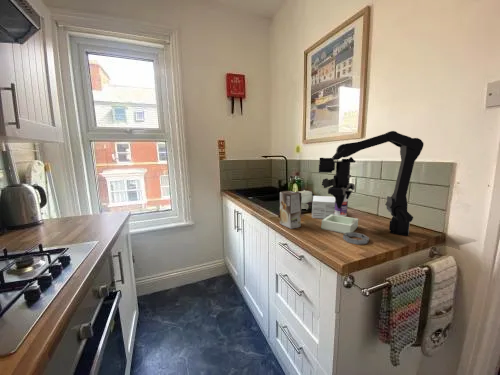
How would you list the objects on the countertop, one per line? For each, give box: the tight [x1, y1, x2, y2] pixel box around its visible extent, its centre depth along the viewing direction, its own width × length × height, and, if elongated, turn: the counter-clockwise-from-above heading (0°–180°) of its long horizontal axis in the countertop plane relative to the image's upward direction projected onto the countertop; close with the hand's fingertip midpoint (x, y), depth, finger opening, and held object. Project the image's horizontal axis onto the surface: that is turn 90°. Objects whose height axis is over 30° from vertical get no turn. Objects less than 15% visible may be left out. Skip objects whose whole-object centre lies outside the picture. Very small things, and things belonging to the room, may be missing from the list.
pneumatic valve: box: [296, 189, 315, 210], centre depth 134 cm, size 6×12×12 cm, turn 111°
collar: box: [342, 231, 370, 245], centre depth 87 cm, size 9×9×2 cm
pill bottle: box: [334, 194, 349, 217], centre depth 99 cm, size 5×5×10 cm
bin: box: [321, 214, 359, 235], centre depth 101 cm, size 12×12×4 cm
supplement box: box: [311, 195, 335, 220], centre depth 122 cm, size 17×13×9 cm
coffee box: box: [279, 190, 302, 230], centre depth 104 cm, size 9×6×16 cm
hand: (341, 207), depth 99 cm, fingers closed on pill bottle, 5 cm apart
